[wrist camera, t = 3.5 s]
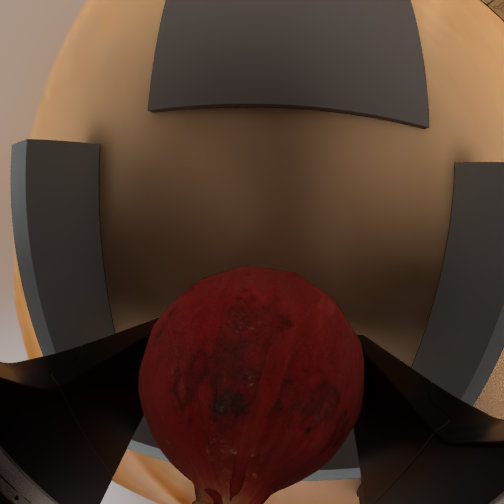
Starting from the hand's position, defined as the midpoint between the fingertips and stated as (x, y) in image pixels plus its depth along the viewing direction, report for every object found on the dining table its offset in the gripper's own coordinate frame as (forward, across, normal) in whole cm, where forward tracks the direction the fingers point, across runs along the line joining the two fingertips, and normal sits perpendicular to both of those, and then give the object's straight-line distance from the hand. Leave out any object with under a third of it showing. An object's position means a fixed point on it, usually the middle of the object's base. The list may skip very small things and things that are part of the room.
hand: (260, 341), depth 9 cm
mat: (+2, 0, -12) cm, 12 cm away
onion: (+2, 0, 0) cm, 2 cm away
